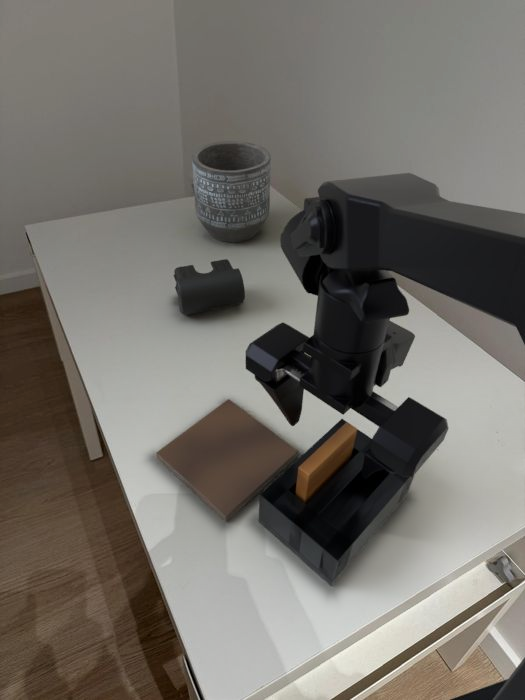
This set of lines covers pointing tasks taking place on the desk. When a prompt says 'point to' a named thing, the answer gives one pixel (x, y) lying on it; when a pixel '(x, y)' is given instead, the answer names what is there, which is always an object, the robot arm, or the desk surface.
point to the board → (227, 458)
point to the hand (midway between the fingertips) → (329, 447)
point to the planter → (231, 189)
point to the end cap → (208, 287)
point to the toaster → (332, 510)
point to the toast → (325, 463)
